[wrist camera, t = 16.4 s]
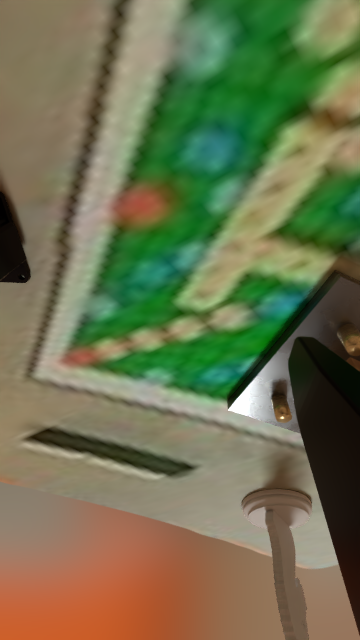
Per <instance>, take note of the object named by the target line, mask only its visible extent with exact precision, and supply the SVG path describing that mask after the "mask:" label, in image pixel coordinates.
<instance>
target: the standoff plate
mask: <svg viewBox="0 0 360 640" xmlns="http://www.w3.org/2000/svg"><path fill="white" fill-rule="evenodd" d="M298 336H305V337H314V338H315V339H317V340H318V341H319V342H321V343H322V344H323V345H325V346H326V347H327V348H329V349H330V350H332V351H333V352H334V353H336V354H337V355H338V356H340V357H341V358H342V359H344V360H345V361H346V360H347V359H348V358H350V357H351V358H353V359H356V360H358V361H360V281H358V280H355V279H353V278H351V277H349V276H347V275H344V274H342V273H340V272H338V271H336V270H335V271H334V272H333V274H332V275H331V276H330V277H329V278H328V280H327V281H326V282H325V283H324V285H323V286H322V287H321V288H320V289H319V291H318V292H317V293H316V294H315V295H314V297H313V298H312V299H311V300H310V302H309V303H308V304H307V305H306V306H305V308H304V309H303V310H302V311H301V313H300V314H299V315H298V316H297V317H296V319H295V320H294V321H293V322H292V323H291V325H290V326H289V327H288V328H287V330H286V331H285V332H284V333H283V334H282V336H281V337H280V338H279V339H278V341H277V342H276V343H275V344H274V345H273V347H272V348H271V349H270V350H269V352H268V353H267V354H266V355H265V356H264V358H263V359H262V360H261V361H260V362H259V364H258V365H257V366H256V367H255V369H254V370H253V371H252V372H251V373H250V375H249V376H248V377H247V378H246V380H245V381H244V382H243V383H242V384H241V386H240V387H239V388H238V389H237V390H236V392H235V393H234V394H233V395H232V397H231V398H230V399H229V400H228V401H227V403H228V410H230V411H233V412H236V413H239V414H242V415H245V416H248V417H252V418H255V419H258V420H261V421H264V422H267V423H270V424H273V425H276V426H279V427H282V428H285V429H288V430H291V431H294V432H297V433H300V434H301V432H300V429H299V425H298V421H297V417H296V412H295V406H294V400H293V394H292V388H291V382H290V376H289V370H288V359H289V356H290V353H291V350H292V346H293V343H294V340H295V339H296V337H298Z"/></svg>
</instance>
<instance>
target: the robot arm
mask: <svg viewBox="0 0 360 640" xmlns="http://www.w3.org/2000/svg"><path fill="white" fill-rule="evenodd" d="M21 274H22V275H24V277H22V276H21ZM30 278H31V275H30V272H29V269H28V266H27V263H26V257H25V254H24V251H23V248H22V244H21V241H20V238H19V235H18V232H17V229H16V226H15V225H14V223H13V220H12V217H11V214H10V211H9V208H8V205H7V202H6V199H5V196H4V195H3V193H2V192H1V191H0V282H13V283H26V282H27V281H28V280H29V279H30ZM288 370H289V376H290V382H291V388H292V394H293V400H294V406H295V412H296V417H297V421H298V425H299V429H300V432H301V436H302V439H303V443H304V446H305V450H306V453H307V456H308V460H309V463H310V467H311V470H312V474H313V477H314V480H315V484H316V487H317V491H318V494H319V498H320V501H321V504H322V508H323V511H324V515H325V518H326V522H327V525H328V529H329V532H330V535H331V539H332V542H333V546H334V549H335V553H336V556H337V559H338V563H339V566H340V570H341V573H342V576H343V580H344V583H345V586H346V590H347V593H348V597H349V600H350V604H351V607H352V611H353V614H354V618H355V621H356V625H357V628H358V631H359V635H360V371H359V370H357V369H356V368H354V367H353V366H352V365H350V364H349V363H348V362H346V361H345V360H344V359H342V358H341V357H340V356H338V355H337V354H336V353H334V352H333V351H332V350H330V349H329V348H327V347H326V346H325V345H323V344H322V343H321V342H319V341H318V340H317V339H315V338H314V337H305V336H298V337H296V339H295V340H294V343H293V346H292V350H291V353H290V356H289V359H288Z"/></svg>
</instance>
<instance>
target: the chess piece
mask: <svg viewBox="0 0 360 640" xmlns="http://www.w3.org/2000/svg"><path fill="white" fill-rule="evenodd" d="M242 510H243V513H244V515H245V517H246V518H247V519H248V520H249V521H250V523H252V524H253V525H255V526H257V527H260V528H264V529H268V532H269V536H270V542H271V548H272V556H273V569H274V579H275V583H274V584H275V589H276V596H277V602H278V608H279V613H280V617H281V623H282V626H283V632H284V635H285V639H286V640H309V635H308V630H307V622H306V610H307V607H306V603H305V597H304V592H303V589H302V586H301V584H300V581H299V579H298V578H295V546H294V541H293V537H292V533H291V530H290V529H292V528H296V527H299V526H302V525H304V524H305V523H306V522H307V521H308V520H309V517H310V516H311V514H312V504H311V501H310V500H309V498H308V497H306V496H305V495H303V494H301V493H299V492H296V491H292V490H285V489H269V490H262V491H258V492H255V493H252V494H250V495H248V496H247V497H246V498H245V499H244V500H243V501H242Z"/></svg>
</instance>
